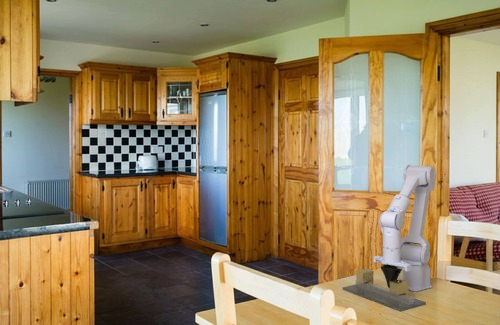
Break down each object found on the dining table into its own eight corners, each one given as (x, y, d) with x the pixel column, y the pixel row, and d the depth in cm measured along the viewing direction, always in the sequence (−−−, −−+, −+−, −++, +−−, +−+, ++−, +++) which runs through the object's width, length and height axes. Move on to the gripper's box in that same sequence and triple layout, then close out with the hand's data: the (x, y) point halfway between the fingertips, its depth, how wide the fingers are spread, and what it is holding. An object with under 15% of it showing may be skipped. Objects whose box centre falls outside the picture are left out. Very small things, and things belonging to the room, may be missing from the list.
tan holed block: (401, 295, 161) (401, 278, 161) (409, 297, 158) (409, 280, 158) (389, 298, 158) (389, 280, 158) (397, 300, 155) (397, 283, 155)
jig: (366, 284, 177) (367, 266, 177) (425, 304, 155) (426, 284, 155) (342, 289, 171) (342, 271, 171) (400, 311, 149) (400, 290, 149)
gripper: (367, 244, 164) (366, 283, 165) (400, 253, 152) (400, 295, 152) (381, 242, 168) (381, 280, 168) (415, 250, 155) (415, 291, 156)
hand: (391, 287), depth 160 cm, fingers closed
